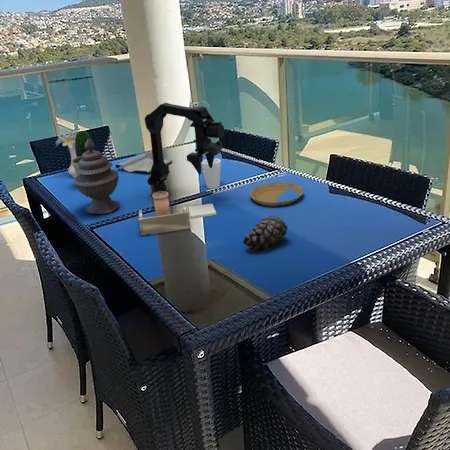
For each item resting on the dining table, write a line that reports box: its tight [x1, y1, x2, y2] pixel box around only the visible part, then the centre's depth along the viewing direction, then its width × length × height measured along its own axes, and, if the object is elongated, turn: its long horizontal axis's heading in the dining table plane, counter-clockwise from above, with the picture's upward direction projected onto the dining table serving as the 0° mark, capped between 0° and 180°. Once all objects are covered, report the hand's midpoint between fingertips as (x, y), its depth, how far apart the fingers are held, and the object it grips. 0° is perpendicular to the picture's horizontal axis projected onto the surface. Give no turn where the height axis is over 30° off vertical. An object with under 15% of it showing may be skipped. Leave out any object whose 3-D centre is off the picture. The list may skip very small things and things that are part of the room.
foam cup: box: [201, 157, 222, 189], centre depth 236 cm, size 10×9×13 cm
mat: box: [115, 153, 173, 174], centre depth 277 cm, size 23×24×5 cm
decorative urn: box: [73, 138, 121, 215], centre depth 215 cm, size 20×20×34 cm
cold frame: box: [138, 203, 191, 236], centre depth 201 cm, size 18×20×7 cm
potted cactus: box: [71, 129, 92, 176], centre depth 249 cm, size 15×15×30 cm
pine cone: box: [242, 215, 288, 253], centre depth 175 cm, size 10×18×10 cm, turn 136°
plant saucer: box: [249, 181, 304, 207], centre depth 218 cm, size 24×24×3 cm
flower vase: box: [55, 130, 88, 178], centre depth 268 cm, size 13×18×25 cm
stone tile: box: [187, 203, 217, 219], centre depth 210 cm, size 11×11×1 cm
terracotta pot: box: [151, 191, 171, 216], centre depth 201 cm, size 7×7×13 cm
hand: (205, 171), depth 215 cm, fingers open, 9 cm apart
